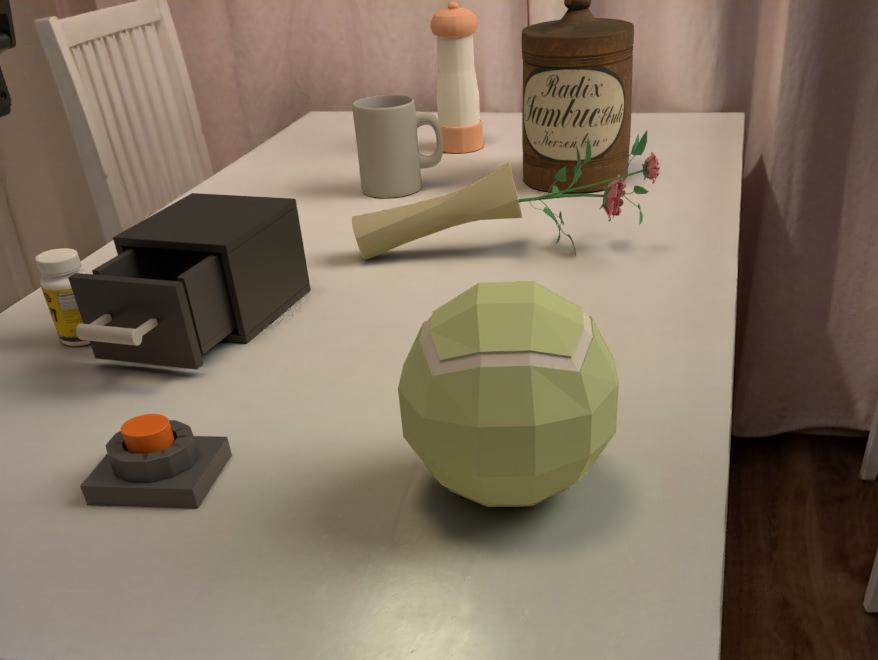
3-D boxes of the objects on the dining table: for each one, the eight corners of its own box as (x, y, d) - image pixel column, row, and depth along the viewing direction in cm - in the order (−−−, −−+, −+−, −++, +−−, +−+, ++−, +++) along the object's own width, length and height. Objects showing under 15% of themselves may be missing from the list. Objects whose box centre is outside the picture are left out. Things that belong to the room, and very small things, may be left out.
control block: (86, 505, 71) (71, 465, 69) (129, 452, 77) (116, 414, 75) (198, 508, 70) (186, 468, 68) (232, 454, 76) (222, 416, 74)
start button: (119, 456, 70) (112, 435, 69) (138, 433, 73) (131, 412, 72) (164, 457, 70) (158, 436, 69) (181, 434, 73) (175, 413, 71)
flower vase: (388, 309, 117) (661, 229, 112) (374, 317, 106) (676, 229, 101) (358, 210, 112) (641, 122, 107) (340, 208, 101) (655, 110, 96)
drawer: (172, 389, 83) (148, 304, 78) (67, 377, 86) (37, 294, 81) (265, 313, 96) (249, 236, 91) (171, 305, 99) (150, 229, 94)
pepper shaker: (428, 148, 147) (417, 3, 134) (462, 139, 150) (455, -4, 138) (458, 156, 142) (450, 7, 130) (492, 146, 146) (488, 0, 133)
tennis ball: (603, 437, 75) (613, 248, 65) (617, 545, 64) (631, 336, 54) (421, 441, 76) (403, 255, 66) (403, 548, 65) (378, 343, 55)
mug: (359, 199, 128) (348, 110, 120) (364, 182, 134) (354, 96, 127) (445, 195, 127) (439, 105, 120) (447, 178, 134) (441, 91, 126)
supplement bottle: (59, 333, 97) (30, 251, 91) (106, 325, 98) (79, 243, 92) (61, 350, 93) (31, 266, 88) (109, 342, 94) (82, 258, 89)
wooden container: (515, 193, 126) (512, 0, 112) (530, 164, 137) (529, -16, 123) (624, 194, 124) (635, -3, 110) (630, 164, 135) (641, -20, 120)
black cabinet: (247, 343, 93) (225, 245, 86) (140, 332, 96) (112, 237, 90) (311, 289, 103) (295, 198, 97) (212, 281, 106) (191, 192, 100)
